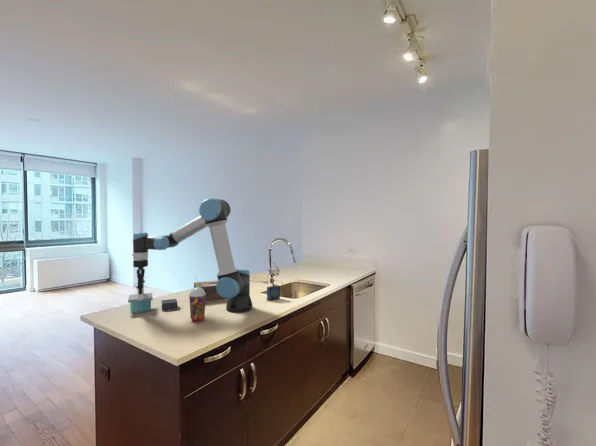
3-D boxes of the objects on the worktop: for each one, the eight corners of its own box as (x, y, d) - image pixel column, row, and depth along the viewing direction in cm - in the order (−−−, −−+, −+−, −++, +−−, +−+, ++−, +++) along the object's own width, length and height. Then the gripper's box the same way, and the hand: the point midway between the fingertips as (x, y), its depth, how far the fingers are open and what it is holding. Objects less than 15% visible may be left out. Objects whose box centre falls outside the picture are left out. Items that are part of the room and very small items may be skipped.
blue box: (267, 301, 197) (267, 284, 196) (265, 300, 199) (265, 283, 199) (280, 299, 201) (280, 283, 201) (278, 298, 204) (278, 282, 204)
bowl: (150, 311, 174) (150, 300, 173) (129, 314, 169) (129, 302, 169) (150, 306, 183) (150, 295, 183) (131, 308, 178) (130, 297, 178)
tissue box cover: (197, 303, 192) (197, 287, 192) (193, 297, 205) (193, 282, 204) (237, 298, 204) (237, 283, 203) (232, 293, 216) (232, 279, 216)
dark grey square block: (177, 308, 179) (177, 302, 179) (162, 310, 175) (162, 303, 175) (176, 305, 186) (176, 298, 186) (161, 306, 183) (161, 300, 182)
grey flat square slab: (152, 300, 173) (152, 297, 173) (128, 302, 168) (128, 300, 168) (152, 295, 184) (152, 292, 184) (129, 297, 179) (129, 294, 179)
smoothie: (196, 324, 154) (196, 284, 154) (185, 321, 158) (185, 282, 158) (209, 319, 161) (209, 281, 161) (198, 316, 165) (198, 279, 165)
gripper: (134, 257, 185) (134, 292, 185) (132, 263, 162) (132, 303, 163) (148, 256, 188) (148, 291, 189) (147, 262, 166) (147, 301, 166)
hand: (140, 296), depth 176 cm, fingers open, 13 cm apart
